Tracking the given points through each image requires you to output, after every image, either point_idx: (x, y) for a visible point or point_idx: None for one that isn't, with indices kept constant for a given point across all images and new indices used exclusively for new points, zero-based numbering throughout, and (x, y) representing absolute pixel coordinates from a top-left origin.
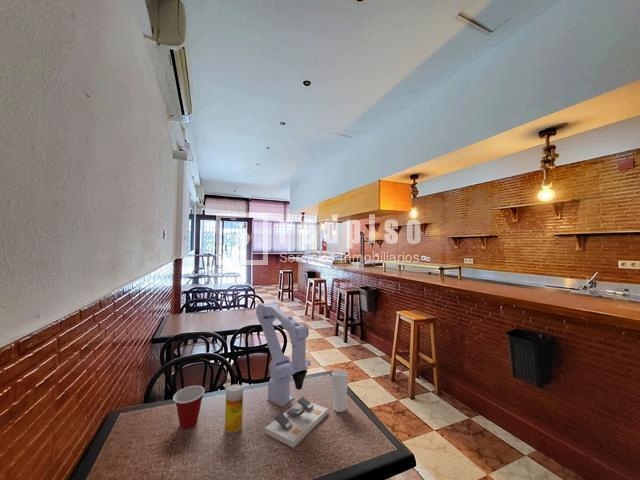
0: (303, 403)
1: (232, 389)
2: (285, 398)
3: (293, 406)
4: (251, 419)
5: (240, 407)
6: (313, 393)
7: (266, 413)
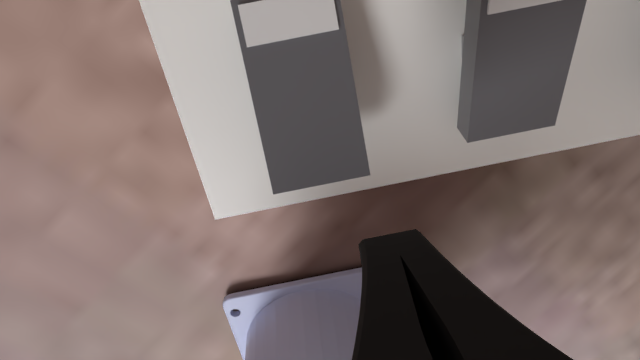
0: (343, 98)
1: None
2: (332, 311)
3: (372, 181)
4: (616, 277)
5: None
6: (8, 249)
7: (511, 269)
